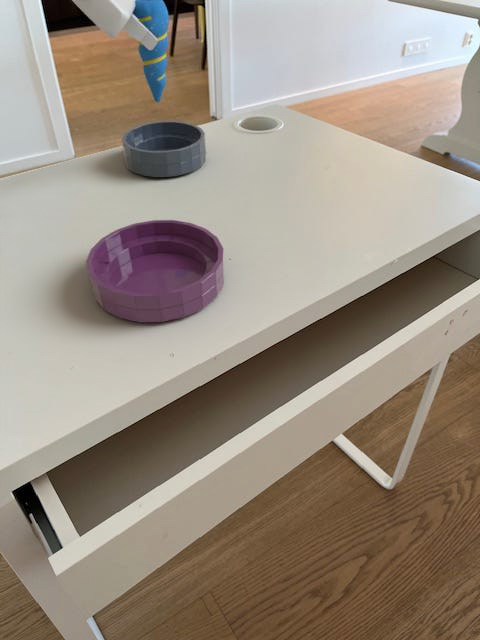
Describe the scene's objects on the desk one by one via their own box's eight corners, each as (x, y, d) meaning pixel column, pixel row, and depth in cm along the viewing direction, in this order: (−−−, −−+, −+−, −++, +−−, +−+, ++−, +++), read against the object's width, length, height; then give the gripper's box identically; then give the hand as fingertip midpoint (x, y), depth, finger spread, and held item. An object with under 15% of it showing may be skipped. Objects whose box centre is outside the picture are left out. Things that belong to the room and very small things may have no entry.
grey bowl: (112, 174, 82) (107, 146, 79) (147, 143, 92) (144, 117, 89) (188, 184, 79) (185, 156, 76) (217, 151, 89) (215, 125, 86)
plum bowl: (68, 310, 57) (59, 281, 54) (131, 239, 67) (126, 212, 65) (196, 337, 53) (193, 308, 50) (240, 258, 64) (240, 230, 61)
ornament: (134, 102, 78) (119, -15, 68) (157, 94, 81) (146, -19, 71) (159, 108, 75) (147, -12, 66) (182, 100, 79) (174, -16, 69)
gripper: (69, -57, 57) (167, 39, 64) (97, -70, 72) (173, 8, 79) (39, -9, 60) (136, 78, 66) (72, -31, 75) (148, 41, 82)
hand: (156, 40), depth 73 cm, fingers closed on ornament, 5 cm apart
